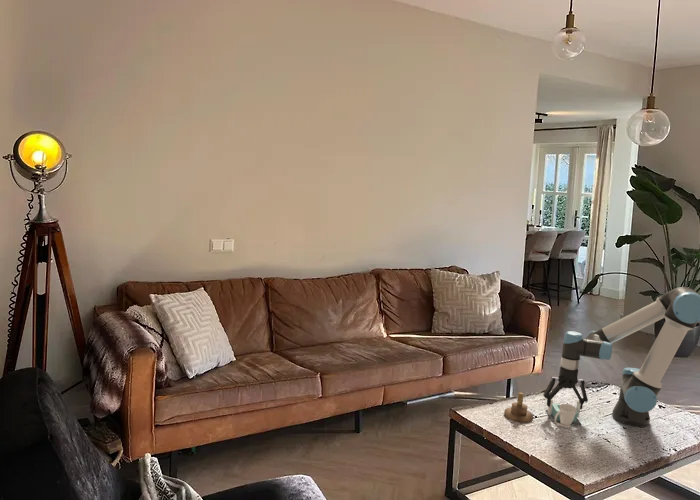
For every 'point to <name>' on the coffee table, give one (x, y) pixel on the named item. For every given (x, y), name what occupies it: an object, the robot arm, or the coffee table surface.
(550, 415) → the mat
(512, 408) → the stand
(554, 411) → the link
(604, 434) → the coffee table surface
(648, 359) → the robot arm
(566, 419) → the cup
